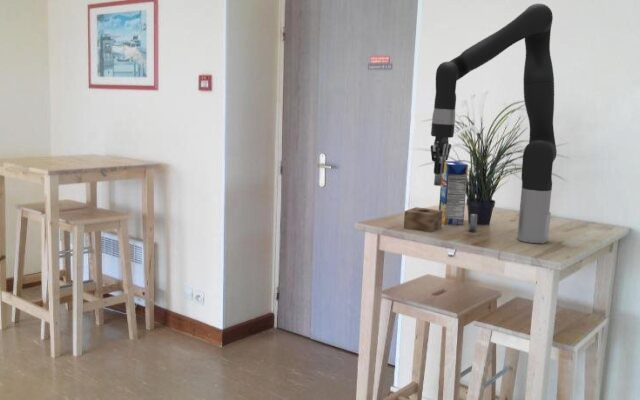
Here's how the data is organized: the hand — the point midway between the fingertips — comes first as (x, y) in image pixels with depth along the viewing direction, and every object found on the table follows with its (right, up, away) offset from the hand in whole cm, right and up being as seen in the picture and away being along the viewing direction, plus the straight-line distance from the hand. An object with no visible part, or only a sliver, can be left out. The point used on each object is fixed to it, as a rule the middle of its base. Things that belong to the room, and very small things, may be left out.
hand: (438, 173), depth 211 cm
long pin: (0, -4, +1) cm, 4 cm away
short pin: (+12, -20, +3) cm, 24 cm away
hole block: (-4, -19, +6) cm, 20 cm away
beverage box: (+8, -17, +19) cm, 27 cm away
